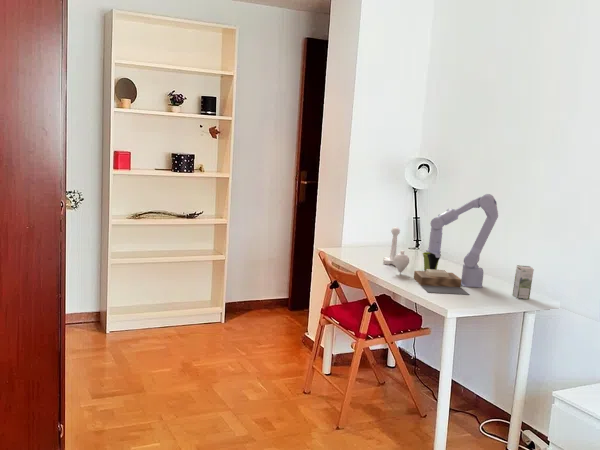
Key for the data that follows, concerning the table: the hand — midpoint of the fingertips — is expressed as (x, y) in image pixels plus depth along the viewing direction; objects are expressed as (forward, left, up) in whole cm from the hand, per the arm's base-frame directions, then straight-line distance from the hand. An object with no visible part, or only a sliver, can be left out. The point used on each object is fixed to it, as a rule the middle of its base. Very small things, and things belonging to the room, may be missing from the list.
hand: (432, 269), depth 304 cm
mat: (-1, +20, -5) cm, 21 cm away
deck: (-1, +8, -5) cm, 9 cm away
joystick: (+14, -29, -5) cm, 33 cm away
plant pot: (-5, -19, -5) cm, 20 cm away
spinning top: (+14, -6, -5) cm, 16 cm away
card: (0, +8, -1) cm, 8 cm away
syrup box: (-34, +26, -5) cm, 43 cm away
